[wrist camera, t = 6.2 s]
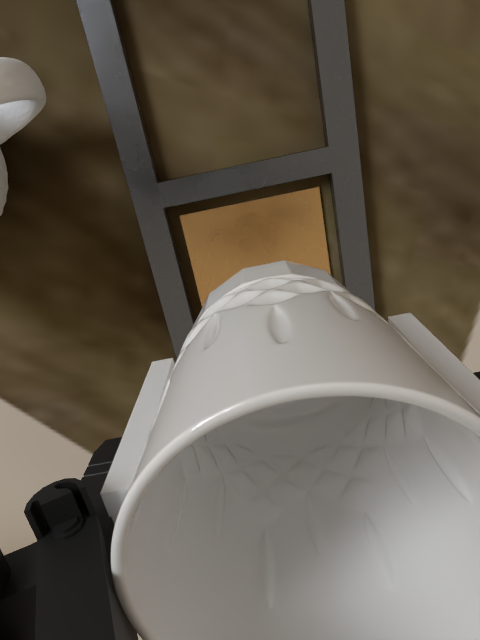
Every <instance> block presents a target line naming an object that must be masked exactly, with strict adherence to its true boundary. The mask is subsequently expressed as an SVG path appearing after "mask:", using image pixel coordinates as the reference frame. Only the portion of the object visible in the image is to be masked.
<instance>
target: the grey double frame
mask: <svg viewBox="0 0 480 640" xmlns="http://www.w3.org/2000/svg"><path fill="white" fill-rule="evenodd" d="M76 1H77V5H78V8H79V12H80V16H81V19H82V23H83V26H84V30H85V33H86V37H87V41H88V44H89V48H90V51H91V55H92V58H93V62H94V66H95V69H96V73H97V76H98V80H99V83H100V87H101V91H102V94H103V98H104V101H105V105H106V109H107V112H108V116H109V119H110V123H111V126H112V130H113V134H114V137H115V141H116V144H117V148H118V151H119V155H120V159H121V162H122V166H123V169H124V173H125V176H126V180H127V184H128V187H129V191H130V194H131V198H132V201H133V205H134V209H135V212H136V216H137V219H138V223H139V226H140V230H141V234H142V237H143V241H144V244H145V248H146V251H147V255H148V259H149V262H150V266H151V269H152V273H153V277H154V280H155V284H156V287H157V291H158V294H159V298H160V302H161V305H162V309H163V312H164V316H165V319H166V323H167V327H168V330H169V334H170V337H171V341H172V344H173V348H174V352H175V355H176V359H177V358H178V356H179V354H180V351H181V349H182V346H183V344H184V342H185V339H186V337H187V335H188V334H189V332H190V331H191V329H192V327H193V325H194V323H195V319H194V315H193V311H192V308H191V304H190V300H189V296H188V292H187V288H186V284H185V280H184V276H183V272H182V268H181V264H180V260H179V257H178V253H177V249H176V245H175V241H174V237H173V233H172V229H171V225H170V221H169V217H168V213H167V209H166V207H171V206H176V205H181V204H185V203H190V202H195V201H200V200H205V199H209V198H214V197H219V196H224V195H228V194H233V193H238V192H243V191H248V190H252V189H257V188H262V187H267V186H271V185H276V184H281V183H286V182H291V181H295V180H300V179H305V178H310V177H315V176H319V175H324V174H329V177H330V185H331V193H332V201H333V209H334V217H335V225H336V233H337V242H338V250H339V258H340V266H341V274H342V282H343V286H344V287H345V288H346V289H348V290H349V291H350V292H351V293H352V294H353V295H355V296H357V297H359V298H360V299H362V300H363V301H365V302H366V303H367V304H368V305H369V306H370V307H371V308H372V309H373V310H374V311H375V303H374V293H373V283H372V273H371V263H370V253H369V243H368V233H367V223H366V213H365V203H364V193H363V183H362V173H361V163H360V153H359V143H358V133H357V123H356V113H355V103H354V93H353V83H352V73H351V63H350V53H349V43H348V32H347V22H346V12H345V2H344V0H308V9H309V17H310V25H311V33H312V41H313V49H314V57H315V65H316V73H317V81H318V89H319V97H320V105H321V113H322V121H323V129H324V137H325V145H326V147H322V148H317V149H312V150H308V151H303V152H298V153H294V154H289V155H284V156H280V157H275V158H270V159H265V160H261V161H256V162H251V163H247V164H242V165H237V166H233V167H228V168H223V169H218V170H214V171H209V172H204V173H200V174H195V175H190V176H186V177H181V178H176V179H172V180H167V181H162V182H159V178H158V174H157V170H156V166H155V162H154V158H153V155H152V151H151V147H150V143H149V139H148V135H147V131H146V127H145V123H144V119H143V115H142V111H141V107H140V104H139V100H138V96H137V92H136V88H135V84H134V80H133V76H132V72H131V68H130V64H129V60H128V56H127V53H126V49H125V45H124V41H123V37H122V33H121V29H120V25H119V21H118V17H117V13H116V9H115V5H114V2H113V0H76ZM180 220H181V224H182V228H183V232H184V236H185V240H186V244H187V248H188V252H189V256H190V260H191V264H192V268H193V273H194V277H195V281H196V285H197V289H198V293H199V297H200V301H201V305H202V307H203V305H204V303H205V301H206V299H207V297H208V295H209V294H210V293H211V292H212V291H213V290H215V289H216V288H217V287H219V286H220V285H221V284H223V283H224V282H225V281H227V280H228V279H229V278H231V277H232V276H233V275H235V274H236V273H238V272H239V271H240V270H242V269H243V268H248V267H253V266H258V265H263V264H268V263H273V262H278V261H283V260H286V261H290V262H294V263H298V264H302V265H306V266H310V267H314V268H318V269H322V270H325V271H327V272H328V273H329V274H330V275H331V272H330V265H329V257H328V250H327V242H326V235H325V227H324V220H323V212H322V205H321V197H320V190H319V187H314V188H309V189H304V190H300V191H295V192H290V193H285V194H280V195H276V196H271V197H266V198H261V199H256V200H251V201H247V202H242V203H237V204H232V205H227V206H223V207H218V208H213V209H208V210H203V211H198V212H194V213H189V214H184V215H180Z"/></svg>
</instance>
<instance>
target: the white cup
mask: <svg viewBox="0 0 480 640" xmlns="http://www.w3.org/2000/svg"><path fill="white" fill-rule="evenodd" d="M111 571H112V578H113V583H114V587H115V591H116V594H117V597H118V600H119V602H120V604H121V607H122V609H123V611H124V613H125V615H126V616H127V618H128V620H129V621H130V623H131V625H132V626H133V628H134V629H135V630H136V632H137V633H138V634H139V635H140V636H141V638H142V639H143V640H480V412H479V411H478V410H477V409H476V408H475V407H474V406H473V405H472V404H471V403H470V402H469V401H468V400H466V399H465V398H464V397H463V396H462V395H461V394H460V393H459V392H458V391H457V390H456V389H455V388H454V387H453V386H452V385H451V384H450V383H449V382H448V381H447V380H446V379H445V378H444V377H443V376H442V375H441V374H440V373H439V372H438V371H437V370H436V369H435V368H434V367H433V366H432V365H431V364H430V363H429V362H428V361H427V360H426V359H425V358H424V357H423V356H422V355H421V354H420V353H419V352H418V351H417V349H416V348H415V347H414V346H413V345H412V344H411V343H410V342H409V341H408V340H407V339H406V338H405V337H403V336H402V335H401V334H400V333H399V332H398V331H396V330H395V329H394V328H393V327H392V326H391V325H390V324H389V323H388V322H387V321H386V320H385V319H384V318H383V317H382V316H380V315H379V314H378V313H377V312H375V311H374V310H373V309H372V308H371V307H370V306H369V305H368V304H367V303H366V302H365V301H363V300H362V299H360V298H359V297H357V296H355V295H353V294H352V293H351V292H350V291H349V290H348V289H346V288H345V287H344V286H343V285H342V284H341V283H339V282H338V281H337V280H336V279H335V278H334V277H332V276H331V275H330V274H329V273H328V272H327V271H325V270H322V269H318V268H314V267H310V266H306V265H302V264H298V263H294V262H290V261H286V260H283V261H278V262H273V263H268V264H263V265H258V266H253V267H248V268H243V269H242V270H240V271H239V272H238V273H236V274H235V275H233V276H232V277H231V278H229V279H228V280H227V281H225V282H224V283H223V284H221V285H220V286H219V287H217V288H216V289H215V290H213V291H212V292H211V293H210V294H209V295H208V297H207V299H206V301H205V303H204V305H203V307H202V309H201V311H200V313H199V315H198V317H197V319H196V321H195V323H194V325H193V327H192V329H191V331H190V332H189V334H188V335H187V337H186V339H185V342H184V344H183V346H182V349H181V351H180V354H179V356H178V358H177V361H176V363H175V366H174V368H173V371H172V373H171V376H170V378H169V380H168V382H167V384H166V386H165V389H164V391H163V394H162V397H161V400H160V402H159V405H158V408H157V410H156V413H155V416H154V419H153V421H152V424H151V427H150V430H149V432H148V435H147V438H146V441H145V444H144V446H143V449H142V452H141V455H140V457H139V460H138V463H137V465H136V468H135V471H134V473H133V476H132V479H131V481H130V484H129V487H128V489H127V492H126V495H125V497H124V500H123V503H122V505H121V508H120V510H119V513H118V516H117V519H116V522H115V526H114V530H113V535H112V542H111Z"/></svg>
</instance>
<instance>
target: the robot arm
mask: <svg viewBox="0 0 480 640" xmlns="http://www.w3.org/2000/svg"><path fill="white" fill-rule="evenodd" d="M388 322H389V324H390V325H391V326H392V327H393V328H394V329H395V330H396V331H398V332H399V333H400V334H401V335H402V336H403V337H405V338H406V339H407V340H408V341H409V342H410V343H411V344H412V345H413V346H414V347H415V348H416V349H417V351H418V352H419V353H420V354H421V355H422V356H423V357H424V358H425V359H426V360H427V361H428V362H429V363H430V364H431V365H432V366H433V367H434V368H435V369H436V370H437V371H438V372H439V373H440V374H441V375H442V376H443V377H444V378H445V379H446V380H447V381H448V382H449V383H450V384H451V385H452V386H453V387H454V388H455V389H456V390H457V391H458V392H459V393H460V394H461V395H462V396H463V397H464V398H465V399H466V400H468V401H469V402H470V403H471V404H472V405H473V406H474V407H475V408H476V409H477V410H478V411H479V412H480V372H475V373H472V372H471V371H470V370H469V369H468V368H467V367H466V366H465V365H464V364H463V363H462V362H461V361H460V360H459V359H458V358H457V357H455V356H454V355H453V354H452V353H451V352H450V351H449V350H448V349H447V348H446V347H445V346H444V345H443V344H442V343H441V342H440V341H439V340H438V339H437V338H436V337H435V336H434V335H433V334H432V333H431V332H430V331H429V330H428V329H427V328H426V327H424V326H423V325H422V324H421V323H420V322H419V321H418V320H417V319H416V318H415V317H414V316H413V315H412V314H411V313H406V314H401V315H396V316H390V317H388ZM174 366H175V364H174V361H173V358H169V359H164V360H159V361H153V362H152V363H151V366H150V368H149V371H148V373H147V376H146V378H145V381H144V383H143V386H142V389H141V391H140V394H139V396H138V399H137V401H136V404H135V406H134V409H133V411H132V414H131V417H130V419H129V422H128V424H127V427H126V429H125V432H124V434H123V437H120V438H114V439H109V440H105V441H104V443H103V444H102V445H101V446H100V447H99V448H98V449H97V450H96V451H95V452H94V454H93V456H92V458H91V460H90V462H89V467H87V469H86V471H85V473H84V477H83V478H82V479H81V480H78V479H76V478H69V479H63V480H60V481H56V482H53V483H51V484H49V485H48V486H46V487H44V488H42V489H41V490H40V491H38V492H37V493H36V494H35V495H33V497H32V498H31V499H30V501H29V502H28V503H27V505H26V507H25V510H24V513H25V515H26V517H27V520H28V521H29V524H30V526H31V528H32V530H33V532H34V534H35V536H36V538H37V542H35V543H33V544H31V545H29V546H26V547H24V548H21V549H19V550H17V551H14V552H12V553H9V554H7V555H3V554H2V552H1V550H0V640H138V636H137V632H136V630H135V629H134V628H133V626H132V625H131V623H130V621H129V620H128V618H127V616H126V615H125V613H124V611H123V609H122V607H121V604H120V602H119V600H118V597H117V594H116V591H115V587H114V583H113V578H112V571H111V542H112V535H113V530H114V526H115V522H116V519H117V516H118V513H119V510H120V508H121V505H122V503H123V500H124V497H125V495H126V492H127V489H128V487H129V484H130V481H131V479H132V476H133V473H134V471H135V468H136V465H137V463H138V460H139V457H140V455H141V452H142V449H143V446H144V444H145V441H146V438H147V435H148V432H149V430H150V427H151V424H152V421H153V419H154V416H155V413H156V410H157V408H158V405H159V402H160V400H161V397H162V394H163V391H164V389H165V386H166V384H167V382H168V380H169V378H170V376H171V373H172V371H173V368H174Z"/></svg>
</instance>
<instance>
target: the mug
mask: <svg viewBox="0 0 480 640" xmlns="http://www.w3.org/2000/svg"><path fill="white" fill-rule="evenodd" d="M45 103H46V94H45V90H44V87H43V85H42V83H41V81H40V79H39V77H38V76H37V74H36V73H35V72H34V71H33V69H32V68H31V67H30V66H28V65H27V64H26V63H24V62H22V61H20V60H17V59H13V58H5V57H0V145H1V144H2V143H4V142H5V141H6V140H8V139H9V138H10V137H11V136H13V135H14V134H15V133H17V132H18V131H20V130H21V129H22V128H24V127H25V126H26V125H27V124H28V123H29V122H30V121H31V120H32V119H33V118H34V117H36V116H37V114H38V113H39V112H40V111H41V110H42V109H43V107H44V105H45ZM7 191H8V173H7V168H6V163H5V159H4V156H3V154H2V151H1V149H0V216H1V214H2V213H3V208H4V205H5V203H6V197H7Z"/></svg>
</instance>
